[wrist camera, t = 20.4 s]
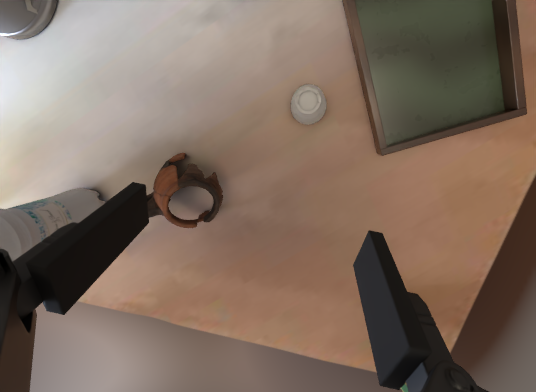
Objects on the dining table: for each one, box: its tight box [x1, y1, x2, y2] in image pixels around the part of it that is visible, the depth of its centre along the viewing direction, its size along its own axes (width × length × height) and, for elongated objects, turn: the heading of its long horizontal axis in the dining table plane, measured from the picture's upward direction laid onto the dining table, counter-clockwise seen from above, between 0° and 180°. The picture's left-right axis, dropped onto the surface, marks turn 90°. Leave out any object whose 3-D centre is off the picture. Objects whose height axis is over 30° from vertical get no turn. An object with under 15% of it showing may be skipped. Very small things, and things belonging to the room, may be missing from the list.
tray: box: [343, 0, 527, 156], centre depth 28 cm, size 20×15×2 cm
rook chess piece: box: [291, 84, 326, 125], centre depth 29 cm, size 4×4×8 cm
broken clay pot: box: [147, 153, 223, 228], centre depth 36 cm, size 12×10×8 cm
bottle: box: [0, 188, 106, 262], centre depth 32 cm, size 7×7×20 cm
